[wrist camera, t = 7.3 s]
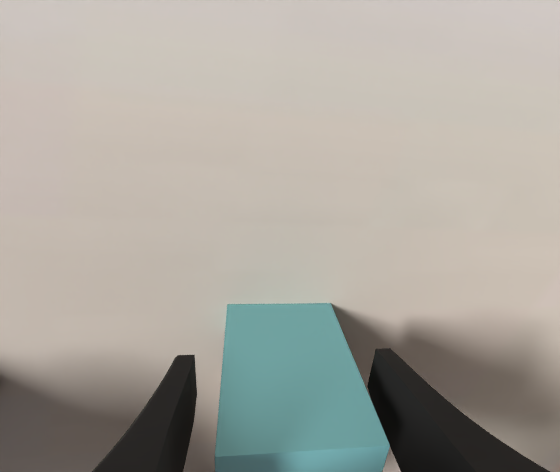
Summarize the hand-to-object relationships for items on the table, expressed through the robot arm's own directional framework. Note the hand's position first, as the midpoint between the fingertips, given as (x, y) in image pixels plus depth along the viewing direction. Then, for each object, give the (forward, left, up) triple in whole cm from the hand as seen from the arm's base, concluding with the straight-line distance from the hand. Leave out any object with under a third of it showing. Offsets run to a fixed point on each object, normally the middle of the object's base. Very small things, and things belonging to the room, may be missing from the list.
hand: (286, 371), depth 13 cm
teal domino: (0, 0, -3) cm, 3 cm away
